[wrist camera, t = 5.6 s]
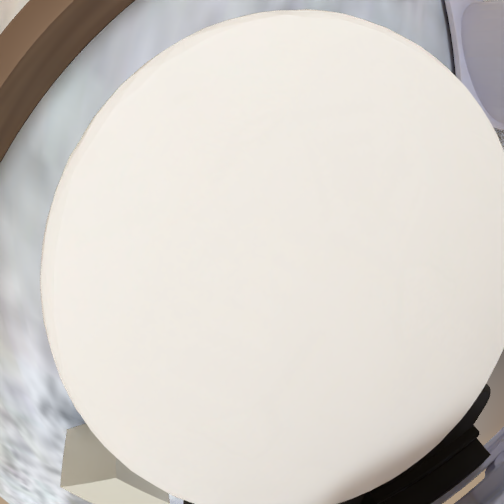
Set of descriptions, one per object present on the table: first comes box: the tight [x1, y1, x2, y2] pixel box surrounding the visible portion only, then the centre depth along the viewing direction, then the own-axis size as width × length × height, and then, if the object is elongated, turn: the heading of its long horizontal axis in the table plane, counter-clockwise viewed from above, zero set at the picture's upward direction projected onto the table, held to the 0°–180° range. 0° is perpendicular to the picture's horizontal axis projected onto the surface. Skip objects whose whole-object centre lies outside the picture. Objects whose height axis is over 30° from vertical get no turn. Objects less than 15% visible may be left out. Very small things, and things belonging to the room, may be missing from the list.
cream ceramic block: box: [60, 424, 170, 504], centre depth 12 cm, size 4×4×4 cm
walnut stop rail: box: [0, 0, 135, 162], centre depth 6 cm, size 1×12×3 cm, turn 134°
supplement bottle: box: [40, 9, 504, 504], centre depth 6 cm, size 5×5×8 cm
